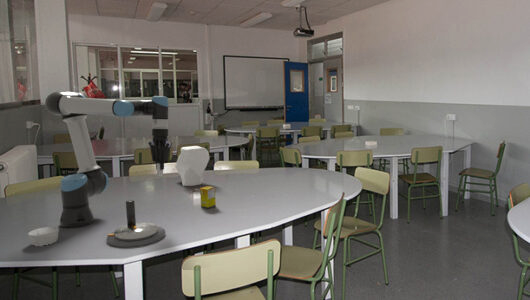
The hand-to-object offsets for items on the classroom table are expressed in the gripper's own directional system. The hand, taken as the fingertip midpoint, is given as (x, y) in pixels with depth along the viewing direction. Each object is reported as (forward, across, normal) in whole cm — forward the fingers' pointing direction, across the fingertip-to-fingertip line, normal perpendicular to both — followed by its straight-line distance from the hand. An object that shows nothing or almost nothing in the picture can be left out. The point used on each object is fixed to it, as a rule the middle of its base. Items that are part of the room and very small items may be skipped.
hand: (159, 176), depth 191 cm
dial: (+22, +7, -23) cm, 32 cm away
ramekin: (+26, -24, -44) cm, 56 cm away
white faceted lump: (+18, -39, +78) cm, 89 cm away
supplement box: (+20, +8, +29) cm, 36 cm away
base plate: (+23, +8, -23) cm, 33 cm away
